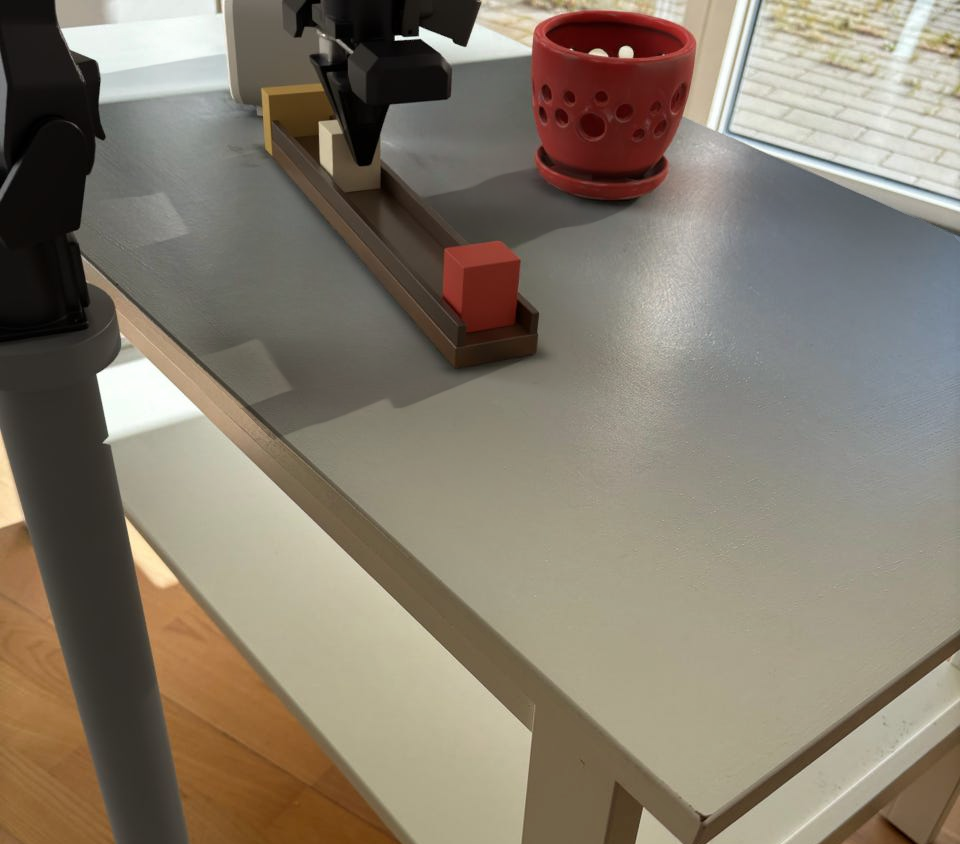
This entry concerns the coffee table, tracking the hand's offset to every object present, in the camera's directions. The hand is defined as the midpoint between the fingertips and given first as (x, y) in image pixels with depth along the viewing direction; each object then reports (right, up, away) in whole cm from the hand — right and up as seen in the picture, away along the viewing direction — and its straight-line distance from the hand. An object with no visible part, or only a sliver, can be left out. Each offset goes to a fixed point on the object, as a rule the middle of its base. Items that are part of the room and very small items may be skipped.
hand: (363, 164), depth 84 cm
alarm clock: (-8, +19, +26) cm, 33 cm away
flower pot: (+19, +3, +11) cm, 22 cm away
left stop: (-7, +7, +12) cm, 16 cm away
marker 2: (+9, -15, -12) cm, 21 cm away
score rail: (+2, -6, 0) cm, 6 cm away
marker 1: (-1, 0, +3) cm, 4 cm away
